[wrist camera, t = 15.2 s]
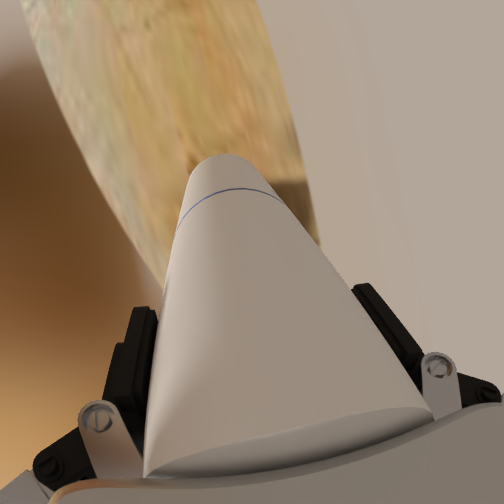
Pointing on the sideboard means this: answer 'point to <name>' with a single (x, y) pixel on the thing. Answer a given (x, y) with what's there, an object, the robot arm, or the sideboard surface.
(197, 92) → the sideboard surface
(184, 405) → the cylindrical container
